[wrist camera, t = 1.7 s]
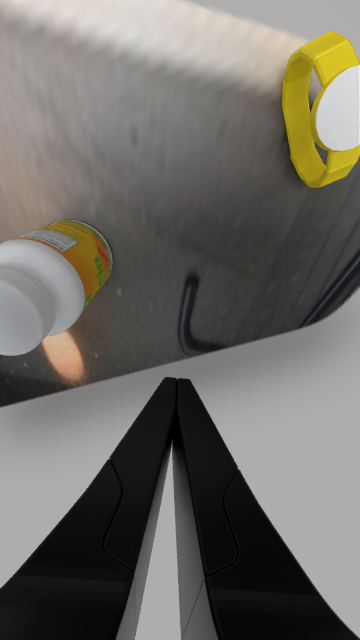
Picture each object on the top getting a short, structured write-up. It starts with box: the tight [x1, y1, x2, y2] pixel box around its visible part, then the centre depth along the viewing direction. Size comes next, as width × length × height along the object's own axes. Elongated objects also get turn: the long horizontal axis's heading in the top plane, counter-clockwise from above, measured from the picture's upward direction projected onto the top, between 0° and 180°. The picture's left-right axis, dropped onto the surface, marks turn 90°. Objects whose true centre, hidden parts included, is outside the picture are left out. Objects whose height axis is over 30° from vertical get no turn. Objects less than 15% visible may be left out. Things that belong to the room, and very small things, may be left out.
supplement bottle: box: [0, 220, 113, 356], centre depth 15 cm, size 5×5×10 cm
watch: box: [282, 31, 360, 188], centre depth 13 cm, size 6×3×6 cm, turn 23°
